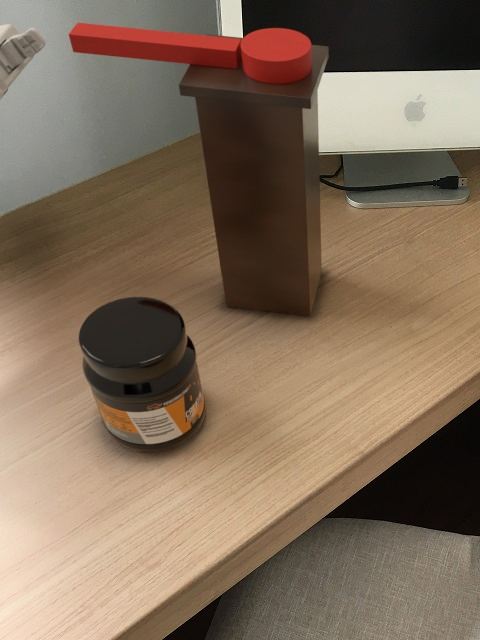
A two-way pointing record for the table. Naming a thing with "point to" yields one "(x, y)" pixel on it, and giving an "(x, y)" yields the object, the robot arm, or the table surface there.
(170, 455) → the table surface
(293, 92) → the walnut stand
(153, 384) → the supplement container
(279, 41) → the red serving spoon
